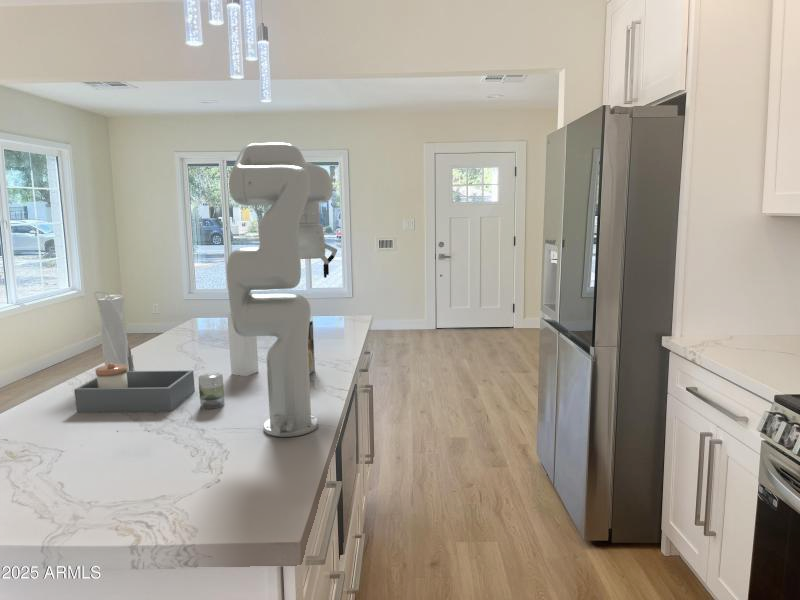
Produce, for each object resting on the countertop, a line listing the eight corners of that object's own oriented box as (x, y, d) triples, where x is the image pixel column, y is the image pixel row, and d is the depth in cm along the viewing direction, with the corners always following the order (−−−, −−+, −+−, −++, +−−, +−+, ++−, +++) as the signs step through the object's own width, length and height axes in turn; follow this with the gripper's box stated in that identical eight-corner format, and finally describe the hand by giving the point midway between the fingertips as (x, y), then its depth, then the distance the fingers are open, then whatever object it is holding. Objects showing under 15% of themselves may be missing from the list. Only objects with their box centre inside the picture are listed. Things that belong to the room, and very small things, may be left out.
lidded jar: (121, 406, 148) (117, 366, 146) (93, 406, 148) (89, 367, 146) (135, 396, 155) (131, 359, 154) (108, 397, 155) (104, 359, 154)
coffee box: (296, 369, 183) (294, 320, 180) (315, 370, 181) (313, 320, 179) (285, 378, 174) (282, 326, 171) (305, 378, 173) (302, 326, 170)
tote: (171, 415, 144) (169, 388, 142) (77, 416, 144) (74, 389, 143) (195, 394, 159) (193, 370, 158) (110, 395, 160) (107, 371, 159)
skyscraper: (105, 387, 167) (95, 293, 163) (101, 381, 174) (92, 290, 169) (136, 382, 172) (127, 290, 167) (132, 376, 178) (123, 287, 174)
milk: (231, 374, 179) (225, 305, 175) (244, 369, 184) (239, 302, 180) (246, 376, 176) (241, 306, 172) (259, 371, 181) (254, 303, 178)
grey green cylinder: (220, 409, 147) (218, 379, 146) (196, 409, 147) (194, 379, 146) (227, 401, 153) (225, 372, 152) (205, 401, 153) (203, 372, 152)
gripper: (275, 221, 165) (278, 280, 167) (335, 219, 166) (337, 278, 169) (278, 220, 172) (281, 277, 175) (336, 219, 173) (338, 275, 176)
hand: (309, 277), depth 172 cm, fingers open, 9 cm apart
